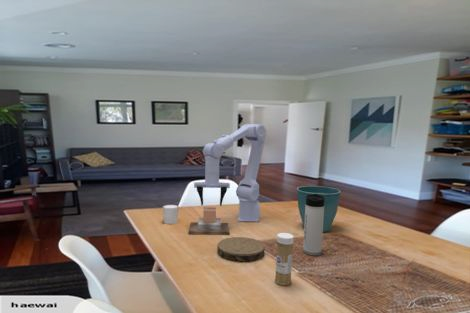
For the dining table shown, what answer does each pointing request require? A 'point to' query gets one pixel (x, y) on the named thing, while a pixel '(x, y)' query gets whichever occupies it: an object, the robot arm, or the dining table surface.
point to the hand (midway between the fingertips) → (211, 204)
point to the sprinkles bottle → (284, 258)
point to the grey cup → (170, 214)
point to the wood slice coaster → (240, 249)
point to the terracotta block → (209, 215)
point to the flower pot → (329, 203)
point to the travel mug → (313, 224)
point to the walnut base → (200, 232)
